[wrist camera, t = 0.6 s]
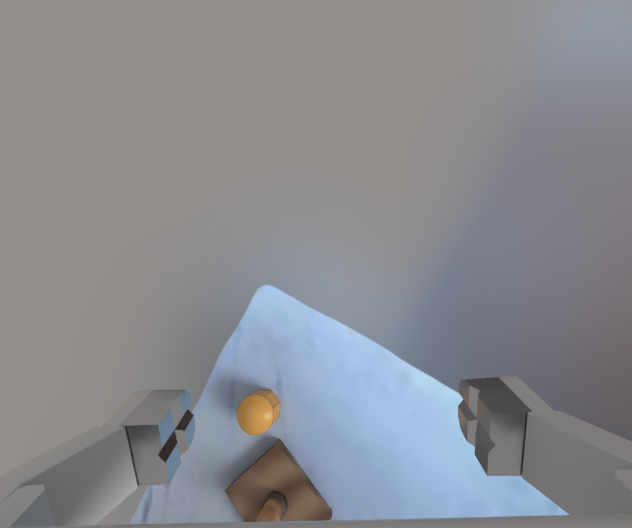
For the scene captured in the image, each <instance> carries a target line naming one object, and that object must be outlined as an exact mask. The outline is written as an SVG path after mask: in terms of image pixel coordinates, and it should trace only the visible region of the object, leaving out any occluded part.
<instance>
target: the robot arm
mask: <svg viewBox="0 0 632 528" xmlns="http://www.w3.org/2000/svg"><path fill="white" fill-rule="evenodd" d="M459 393H460V395H461V396H462V398H463V401H462V402H461V403H460V404H459V406H458V418H459V423H460V427H461V430H462V433H463V435H464V437H465V438H466V440H467V442H469V443H470V444H472V445H473V446H475V456H476V457H477V459H478V461H479V463H480V464H481V466H482V468H483V469H484V471H485V473H486V474H487V476H522V478H523V479H524V480H526V481H527V482H528V483H530V484H531V485H532V486H533V487H535V488H536V489H537V490H539V491H540V492H541V493H543V494H544V495H545V496H546V497H548V498H549V499H550V500H552V501H553V502H554V503H555V504H557V505H558V506H559V507H561V508H562V509H563V510H564V511H566V512H567V513H568V514H570V515H562V516H515V517H468V518H422V519H375V520H324V521H271V522H224V523H179V524H133V525H96V524H97V523H98V522H99V521H100V520H101V519H102V518H104V517H105V516H106V515H107V514H108V513H109V512H111V511H112V510H113V509H114V508H115V507H116V506H117V505H119V504H120V503H121V502H122V501H123V500H124V499H125V498H127V497H128V496H129V495H130V494H131V493H132V492H133V491H135V490H136V489H137V488H138V486H142V485H160V484H170V482H171V480H172V478H173V477H174V475H175V473H176V471H177V469H178V467H179V466H180V464H181V460H180V456H181V455H182V454H183V453H185V452H186V451H187V450H188V449H189V447H190V445H191V443H192V441H193V437H194V432H195V419H194V415H193V414H192V413H191V412H190V411H189V410H188V408H189V406H190V404H191V403H192V401H191V396H190V392H188V390H146V391H137V392H135V393H134V394H133V395H132V396H131V397H130V398H129V399H128V400H127V401H126V402H125V403H124V404H123V405H122V406H121V407H120V408H119V409H118V410H117V411H116V412H115V413H114V414H113V415H112V416H111V417H110V418H109V419H108V420H107V421H106V422H105V423H104V424H103V425H102V426H101V427H95V428H93V429H91V430H89V431H87V432H85V433H83V434H81V435H79V436H77V437H76V438H73V439H71V440H69V441H68V442H66V443H64V444H62V445H60V446H58V447H56V448H54V449H52V450H50V451H48V452H46V453H44V454H42V455H40V456H38V457H36V458H34V459H32V460H30V461H29V462H27V463H25V464H23V465H21V466H19V467H17V468H15V469H13V470H11V471H9V472H7V473H5V474H3V475H1V476H0V528H632V442H630V441H628V440H626V439H624V438H621V437H619V436H617V435H614V434H612V433H609V432H607V431H605V430H602V429H600V428H598V427H596V426H593V425H591V424H588V423H586V422H584V421H582V420H579V419H577V418H575V417H572V416H570V415H568V414H565V413H563V412H561V411H560V412H554V411H553V410H552V409H551V408H550V407H549V406H548V405H547V404H546V403H545V402H543V400H542V399H541V398H539V397H538V396H537V395H536V394H535V393H534V392H533V391H532V390H531V389H529V388H528V386H526V385H525V384H524V383H523V382H522V381H521V380H520V379H519V378H518V377H515V376H505V377H494V378H478V379H462V380H461V381H460V384H459Z"/></svg>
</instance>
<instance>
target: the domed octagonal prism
mask: <svg viewBox="0 0 632 528" xmlns="http://www.w3.org/2000/svg"><path fill="white" fill-rule="evenodd" d="M279 414H280V401H279V399H278V398H277V397H276V395H275V394H274V393H273V391H269V390H258V391H256V392H254V393H253V394H251V395H250V396H248V397H247V398H245V399H244V400H243V401H242V402H241V403H240V405H239V407H238V411H237V420H238V423H239V425H240V427H241V428H242V430H243V431H245V432H246V433H248V434H250V435H259V434H262V433H263V432H265V431H266V430H267V429H268V428H269V427H270V426H271V425H272V424H273V423H274V422H275V421H276V419H277V418H278V417H279Z"/></svg>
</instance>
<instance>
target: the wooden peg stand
mask: <svg viewBox="0 0 632 528" xmlns="http://www.w3.org/2000/svg"><path fill="white" fill-rule="evenodd" d="M225 492H226V493H227V495H228V496H229V498H230V500H231V501H232V503H233V504H234V506H235V507H236V509H237V510H238V512H239V514H240V515H241V517H242V518H243V520H244V521H245V522H271V521H324V520H330V519H331V516H332V510H331V509H330V507H329V506H328V504H327V503H326V502H325V500H324V499H323V497H322V496H321V495H320V493H319V492H318V491H317V489H316V488H315V486H314V485H313V484H312V482H311V481H310V480H309V478H308V477H307V475H306V474H305V473H304V471H303V470H302V469H301V467H300V466H299V464H298V463H297V462H296V460H295V459H294V458H293V456H292V455H291V453H290V452H289V451H288V449H287V448H286V446H285V445H284V444H283V442H282V441H281V440H279V441H278V442H277V443H276V444H275V445H274V446H272V447H271V448H270V449H269V450H268V451H267V452H266V453H265V454H264V455H262V456H261V457H260V458H259V459H258V460H257V461H256V462H255V463H254V464H253V465H251V466H250V467H249V468H248V469H247V470H246V471H245V472H244V473H243V474H242V475H240V476H239V477H238V478H237V479H236V480H235V481H234V482H233V483H232V484H231V485H230V486H229V487H228V488H227V489H226V490H225Z"/></svg>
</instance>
